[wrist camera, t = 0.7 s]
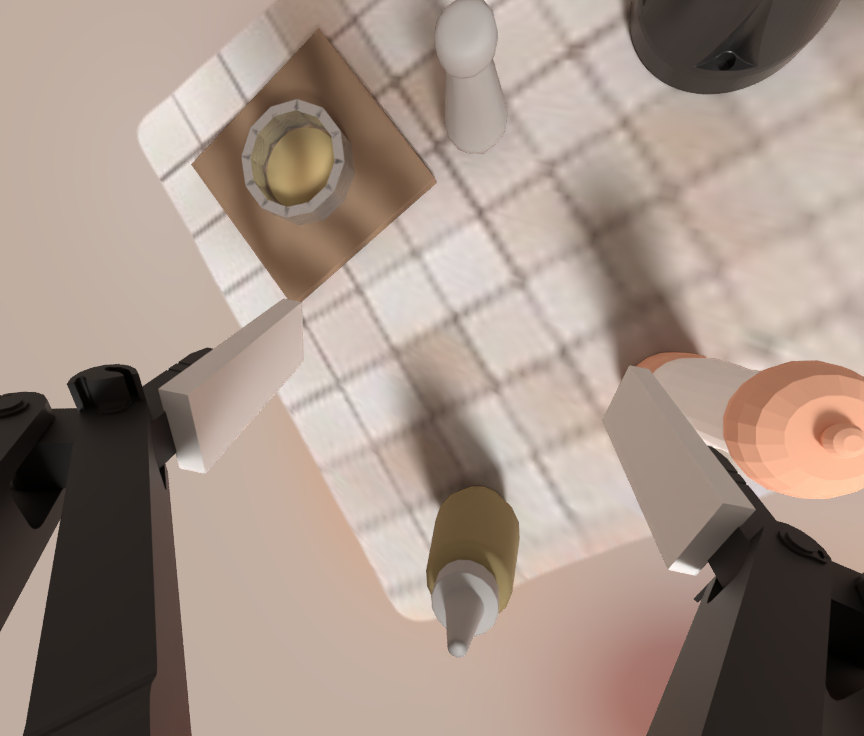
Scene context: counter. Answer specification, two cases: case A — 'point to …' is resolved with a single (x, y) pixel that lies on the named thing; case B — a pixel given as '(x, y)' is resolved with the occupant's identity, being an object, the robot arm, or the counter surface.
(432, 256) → the counter surface
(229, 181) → the collar board
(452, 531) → the squeeze bottle
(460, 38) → the salt shaker
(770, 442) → the pepper shaker
